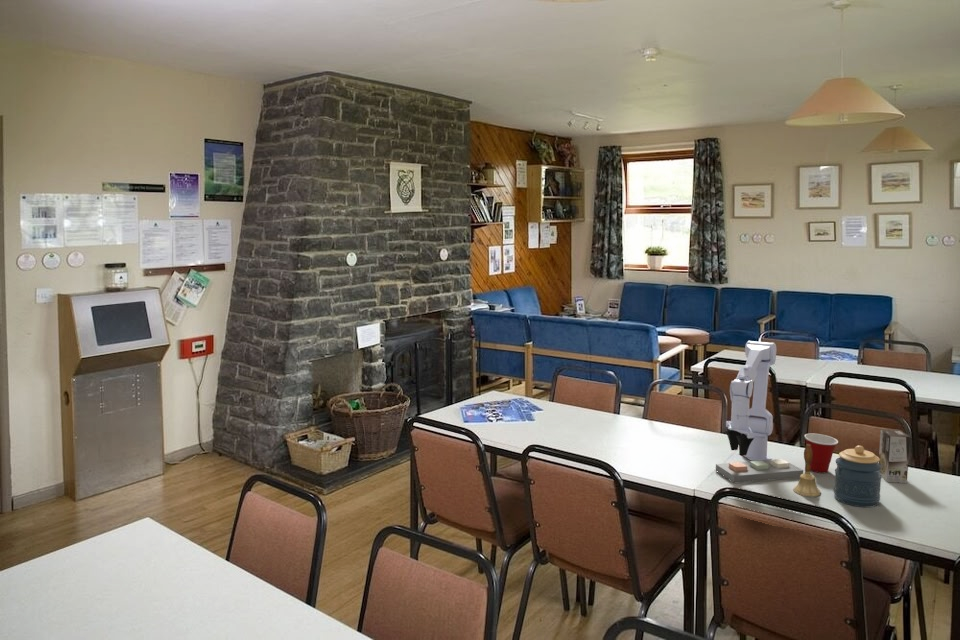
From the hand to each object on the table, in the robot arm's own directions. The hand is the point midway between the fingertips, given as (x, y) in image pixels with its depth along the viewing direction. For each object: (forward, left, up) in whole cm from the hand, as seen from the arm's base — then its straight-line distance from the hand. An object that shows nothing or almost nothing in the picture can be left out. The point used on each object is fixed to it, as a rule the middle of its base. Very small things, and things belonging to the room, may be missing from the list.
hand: (738, 452), depth 240 cm
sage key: (0, +8, -7) cm, 10 cm away
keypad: (0, +8, -8) cm, 12 cm away
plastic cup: (+1, +31, -9) cm, 32 cm away
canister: (+27, +25, -9) cm, 38 cm away
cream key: (0, +16, -7) cm, 17 cm away
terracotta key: (0, 0, -7) cm, 7 cm away
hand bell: (+18, +14, -9) cm, 24 cm away
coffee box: (+13, +50, -9) cm, 52 cm away
